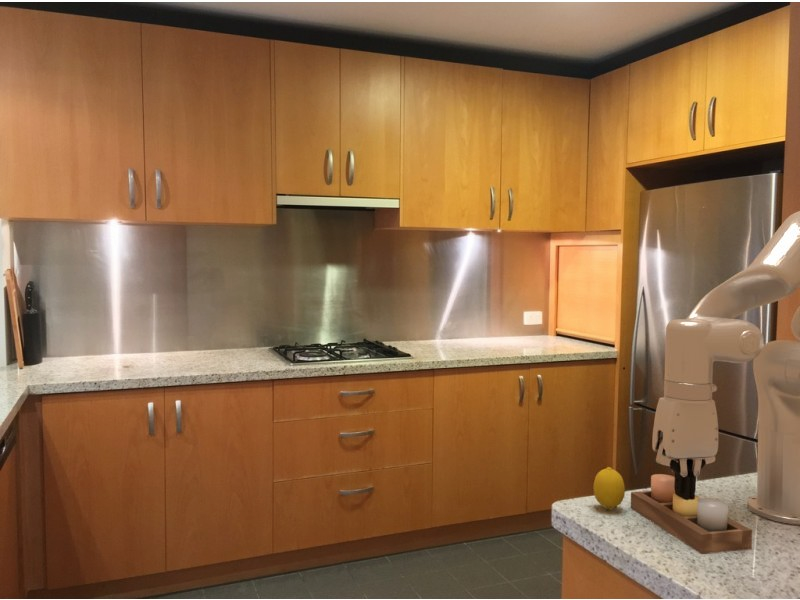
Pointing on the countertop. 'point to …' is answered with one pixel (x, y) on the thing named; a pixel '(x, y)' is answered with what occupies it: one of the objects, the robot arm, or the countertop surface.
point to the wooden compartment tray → (691, 526)
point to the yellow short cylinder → (685, 506)
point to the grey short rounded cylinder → (712, 514)
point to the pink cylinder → (662, 488)
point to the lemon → (609, 488)
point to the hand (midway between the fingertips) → (684, 496)
